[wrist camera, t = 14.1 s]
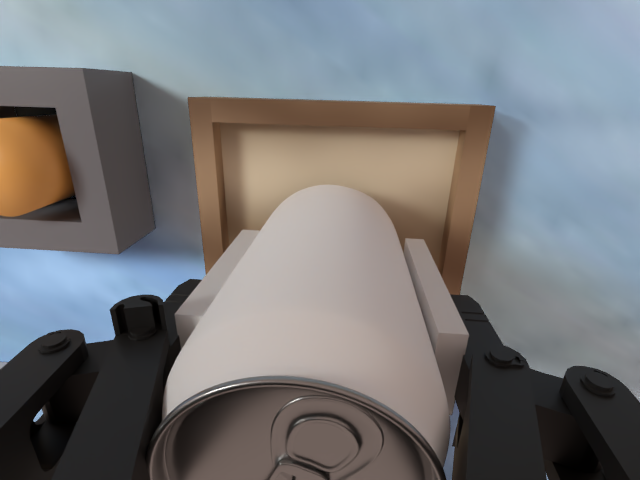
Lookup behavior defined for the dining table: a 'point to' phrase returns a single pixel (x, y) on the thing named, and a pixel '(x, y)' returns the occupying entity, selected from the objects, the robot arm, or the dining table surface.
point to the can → (309, 359)
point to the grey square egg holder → (84, 161)
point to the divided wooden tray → (342, 165)
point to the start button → (32, 164)
